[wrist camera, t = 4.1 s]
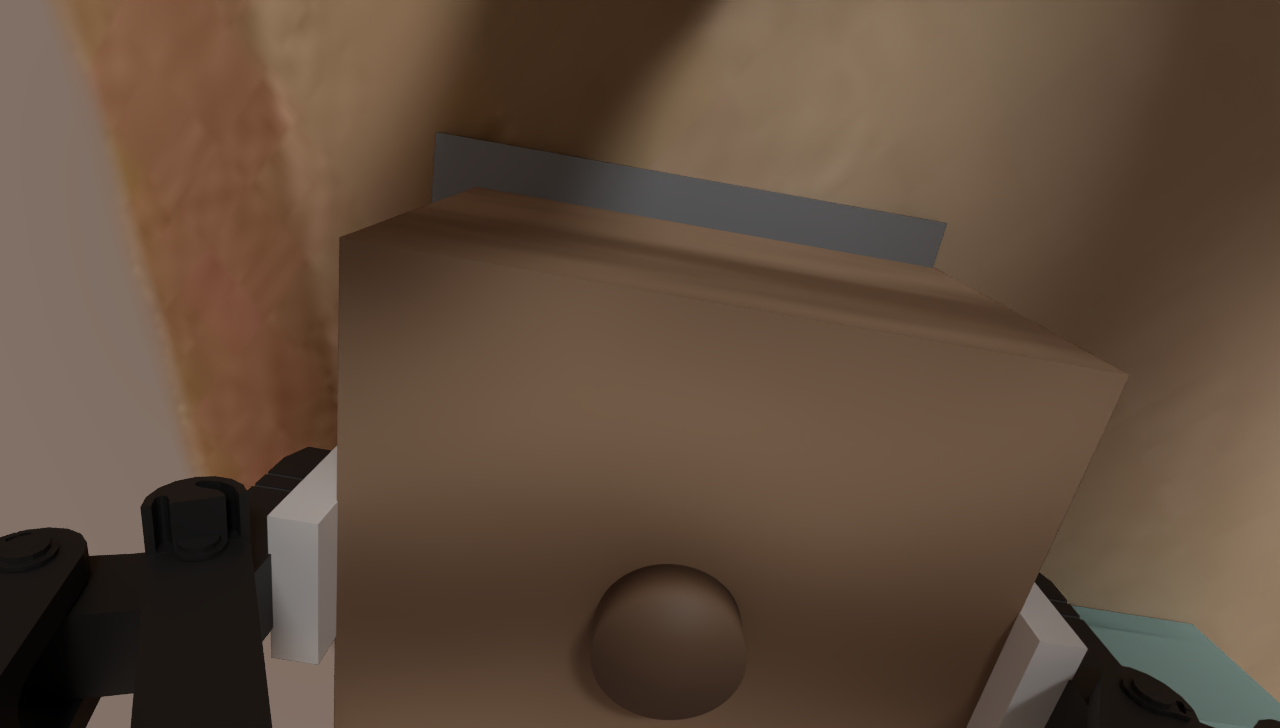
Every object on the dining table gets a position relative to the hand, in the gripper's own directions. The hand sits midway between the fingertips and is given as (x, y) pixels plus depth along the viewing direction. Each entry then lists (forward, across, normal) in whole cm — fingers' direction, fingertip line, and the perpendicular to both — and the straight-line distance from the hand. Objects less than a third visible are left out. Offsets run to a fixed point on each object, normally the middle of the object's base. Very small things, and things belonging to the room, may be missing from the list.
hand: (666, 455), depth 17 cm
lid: (+1, 0, 0) cm, 1 cm away
